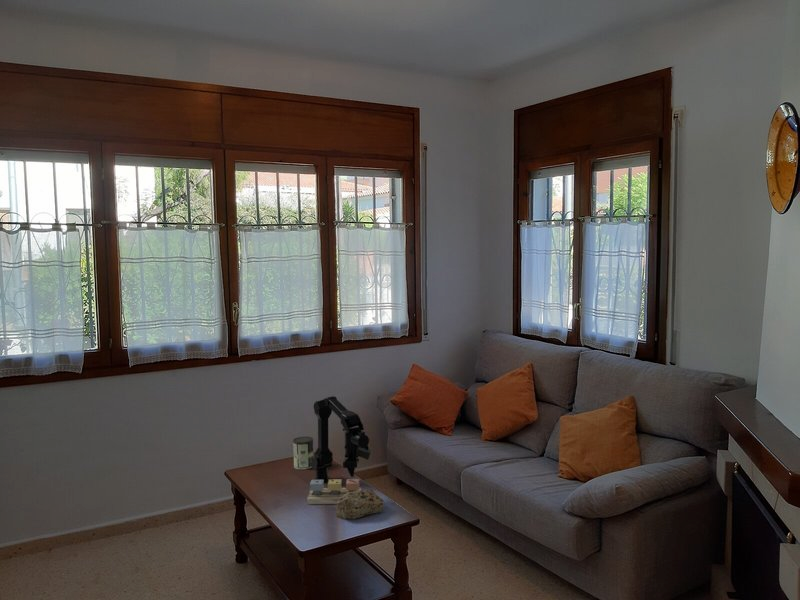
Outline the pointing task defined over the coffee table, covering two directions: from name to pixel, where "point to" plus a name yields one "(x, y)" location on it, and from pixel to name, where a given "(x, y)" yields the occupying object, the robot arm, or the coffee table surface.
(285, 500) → the coffee table surface
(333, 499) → the keypad board
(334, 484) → the yellow cube
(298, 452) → the coffee can
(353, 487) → the pink cube
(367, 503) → the rock
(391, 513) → the coffee table surface
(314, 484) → the blue-grey cube
